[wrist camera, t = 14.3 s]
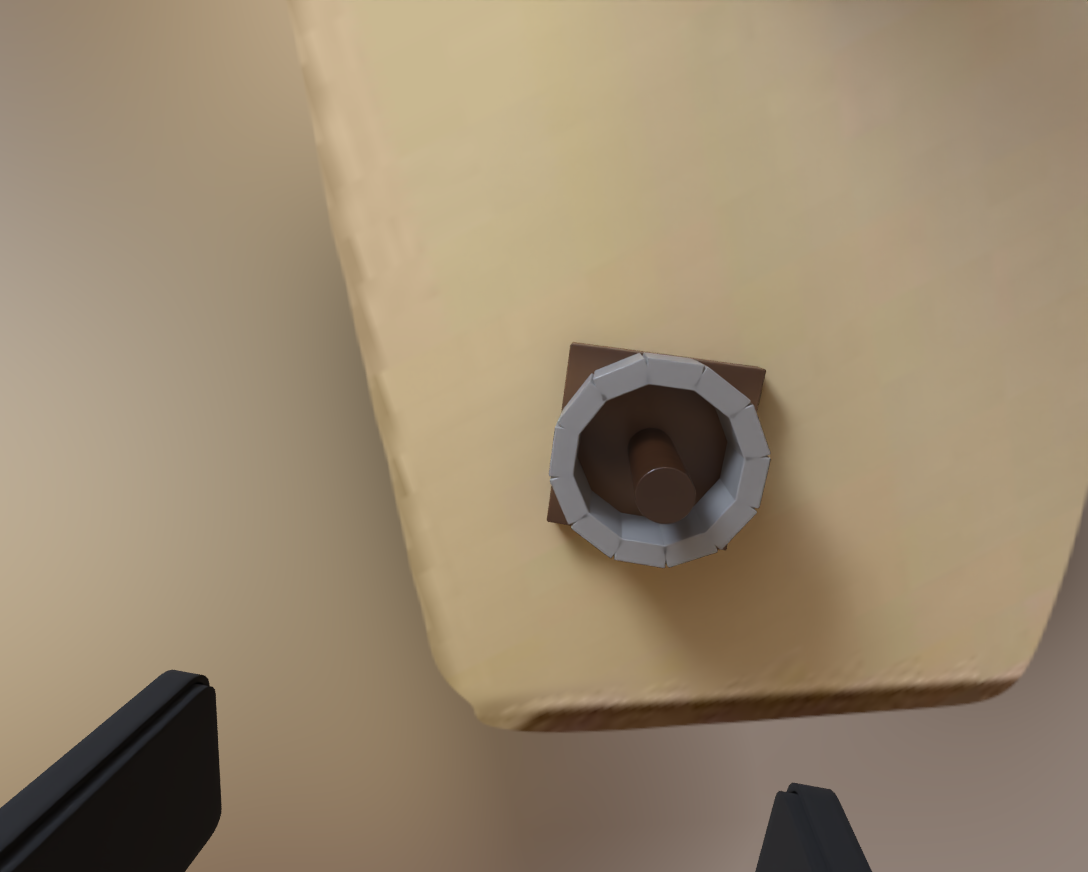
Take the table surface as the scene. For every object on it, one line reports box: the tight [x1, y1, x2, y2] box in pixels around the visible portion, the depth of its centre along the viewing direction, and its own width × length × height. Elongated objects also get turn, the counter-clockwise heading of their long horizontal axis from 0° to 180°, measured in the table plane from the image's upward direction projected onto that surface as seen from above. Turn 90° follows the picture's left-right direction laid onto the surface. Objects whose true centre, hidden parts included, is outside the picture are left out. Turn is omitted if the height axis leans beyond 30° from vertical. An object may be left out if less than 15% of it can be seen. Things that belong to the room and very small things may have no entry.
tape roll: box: [549, 352, 771, 568], centre depth 27 cm, size 10×10×4 cm
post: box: [547, 342, 766, 550], centre depth 26 cm, size 10×10×9 cm
